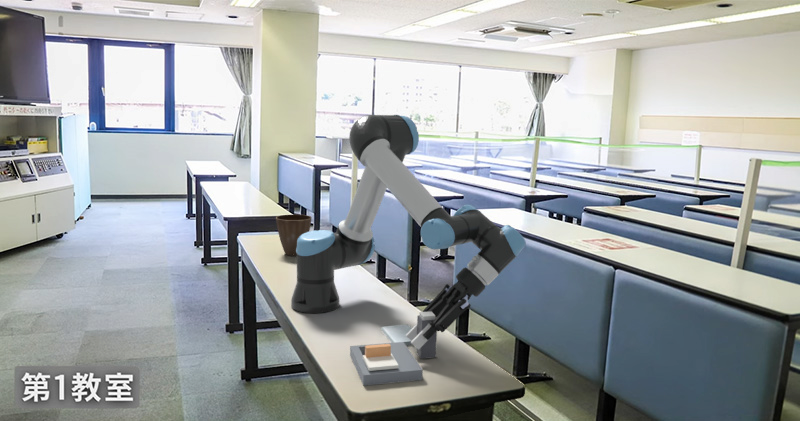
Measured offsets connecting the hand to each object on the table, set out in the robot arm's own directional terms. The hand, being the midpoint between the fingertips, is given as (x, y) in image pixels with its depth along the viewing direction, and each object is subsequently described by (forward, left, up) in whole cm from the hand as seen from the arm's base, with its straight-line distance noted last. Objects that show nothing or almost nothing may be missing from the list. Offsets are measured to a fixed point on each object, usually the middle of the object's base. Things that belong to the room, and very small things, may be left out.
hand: (412, 342), depth 149 cm
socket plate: (+5, -8, -4) cm, 10 cm away
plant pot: (-113, -20, -4) cm, 115 cm away
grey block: (0, +4, -4) cm, 5 cm away
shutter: (+8, -10, -1) cm, 13 cm away
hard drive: (-14, +1, -5) cm, 14 cm away
